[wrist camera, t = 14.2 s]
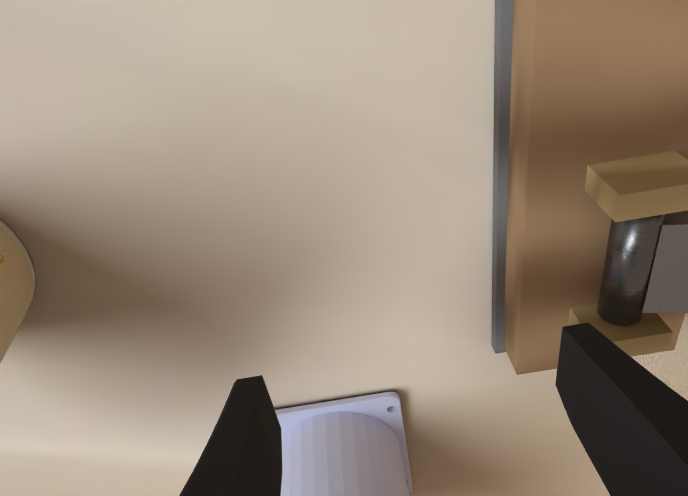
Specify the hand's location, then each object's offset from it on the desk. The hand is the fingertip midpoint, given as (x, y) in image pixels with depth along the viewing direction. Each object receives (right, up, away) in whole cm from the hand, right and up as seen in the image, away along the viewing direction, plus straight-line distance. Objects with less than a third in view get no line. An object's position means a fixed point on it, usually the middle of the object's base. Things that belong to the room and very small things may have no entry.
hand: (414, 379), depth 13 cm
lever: (+9, +3, +7) cm, 11 cm away
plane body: (+8, +8, +7) cm, 13 cm away
